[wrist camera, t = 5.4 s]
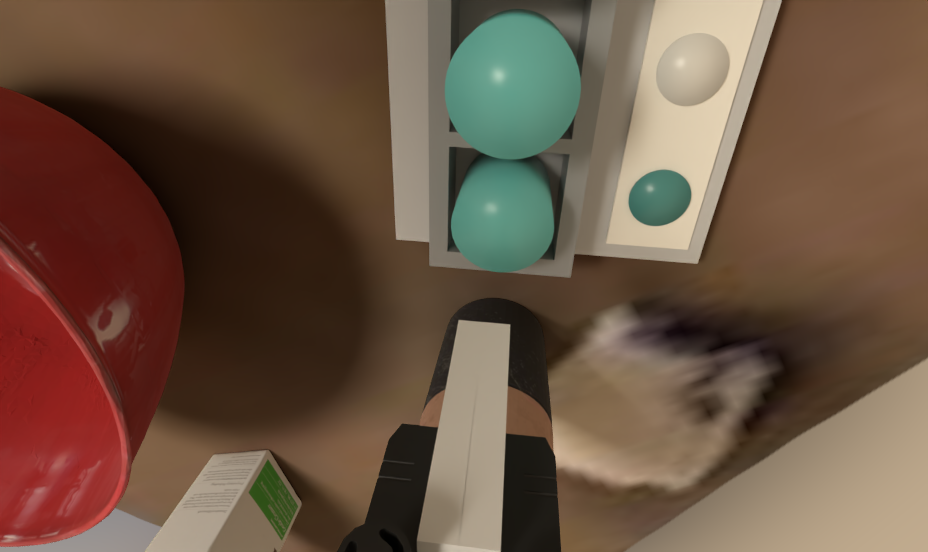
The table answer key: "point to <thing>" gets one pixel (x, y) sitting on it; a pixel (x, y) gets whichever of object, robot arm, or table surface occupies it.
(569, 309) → the table surface
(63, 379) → the mixing bowl
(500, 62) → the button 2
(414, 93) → the button panel
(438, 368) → the travel mug
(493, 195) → the button
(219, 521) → the skincare box
